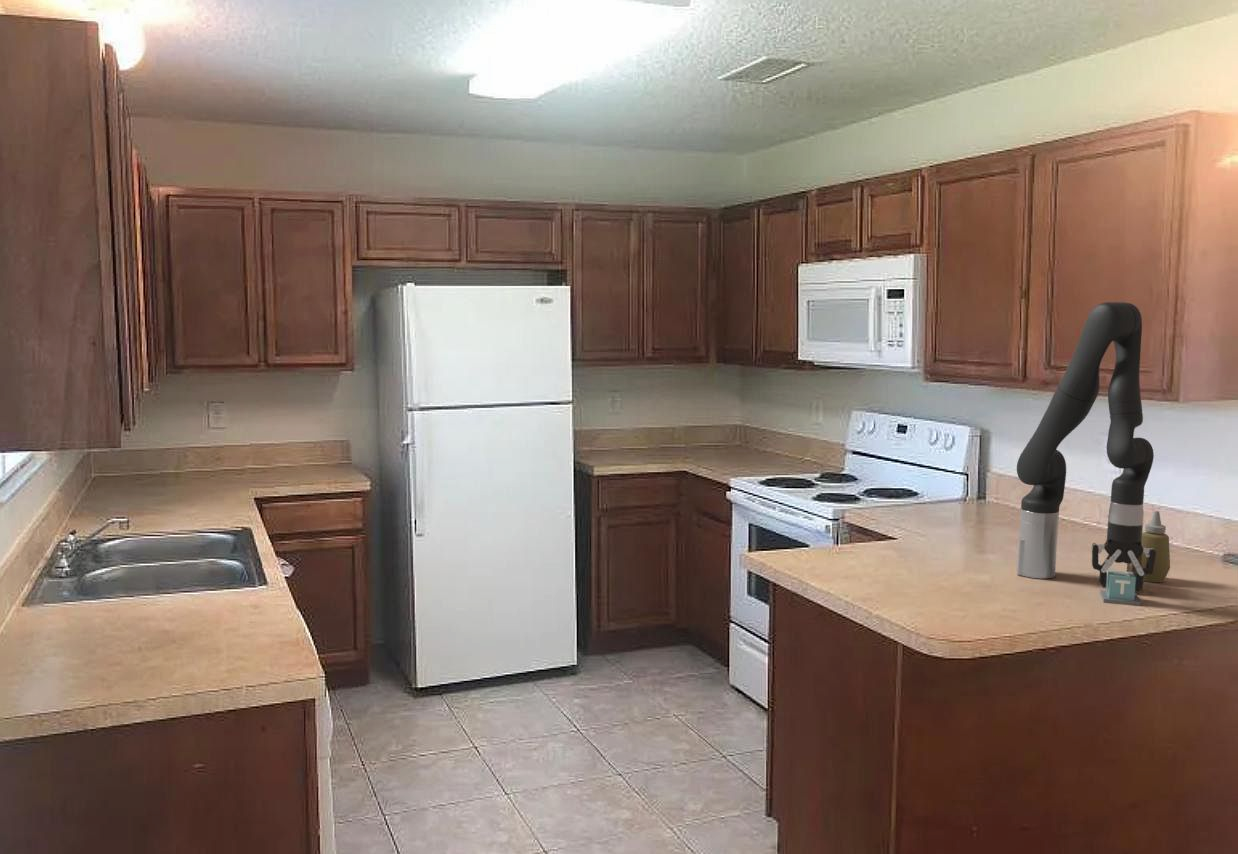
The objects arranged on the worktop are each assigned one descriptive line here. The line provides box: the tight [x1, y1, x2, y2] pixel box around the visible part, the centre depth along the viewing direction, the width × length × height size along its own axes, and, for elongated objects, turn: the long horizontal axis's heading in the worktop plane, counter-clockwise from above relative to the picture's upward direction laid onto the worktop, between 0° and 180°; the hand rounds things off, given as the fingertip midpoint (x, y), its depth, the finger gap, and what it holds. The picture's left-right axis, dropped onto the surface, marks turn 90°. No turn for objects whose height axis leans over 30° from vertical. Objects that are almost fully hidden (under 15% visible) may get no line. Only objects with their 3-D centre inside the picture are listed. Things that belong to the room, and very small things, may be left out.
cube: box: [1105, 569, 1136, 600], centre depth 250 cm, size 6×6×6 cm
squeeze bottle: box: [1141, 510, 1171, 583], centre depth 266 cm, size 8×8×18 cm
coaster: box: [1099, 589, 1142, 607], centre depth 250 cm, size 8×8×1 cm
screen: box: [1126, 554, 1147, 596], centre depth 258 cm, size 5×8×12 cm, turn 161°
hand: (1120, 588), depth 250 cm, fingers open, 6 cm apart
